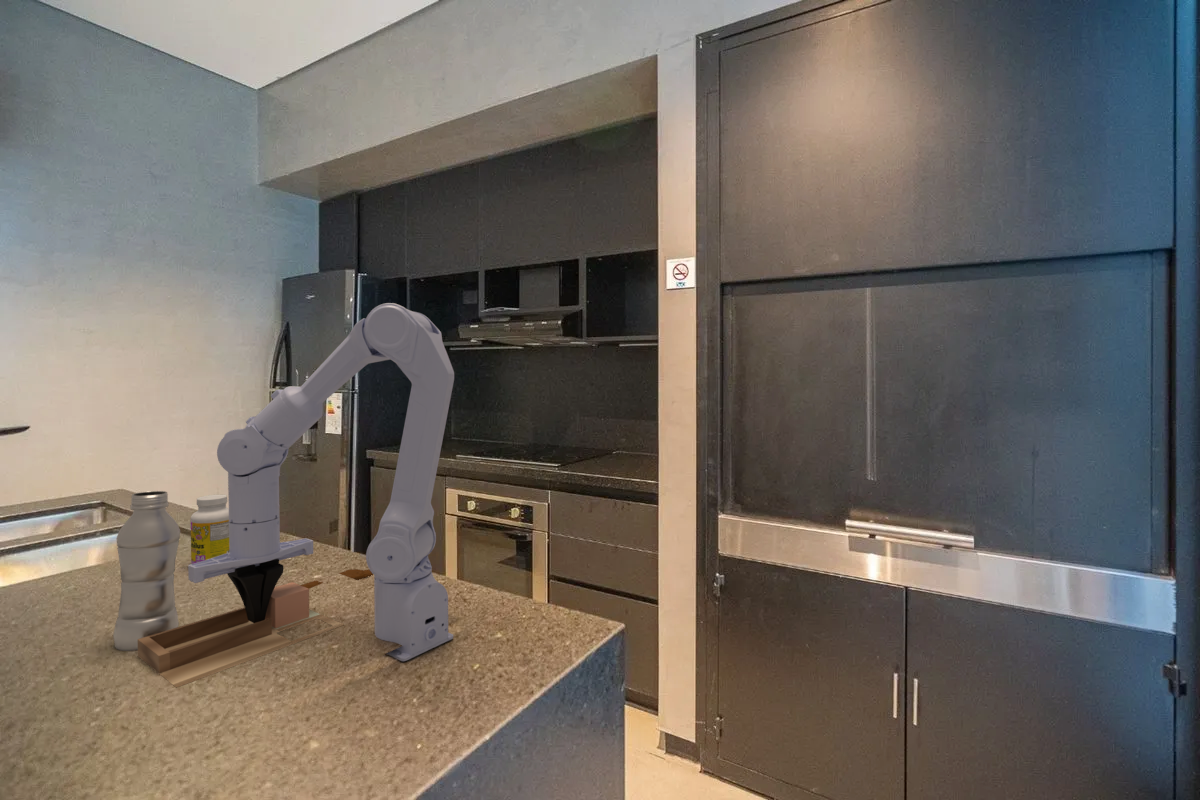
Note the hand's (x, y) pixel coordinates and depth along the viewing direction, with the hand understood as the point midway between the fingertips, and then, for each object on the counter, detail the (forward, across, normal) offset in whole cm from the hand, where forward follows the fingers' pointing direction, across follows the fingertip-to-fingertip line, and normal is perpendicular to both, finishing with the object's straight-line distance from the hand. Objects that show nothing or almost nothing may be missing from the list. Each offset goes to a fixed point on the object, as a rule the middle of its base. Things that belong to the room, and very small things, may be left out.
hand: (256, 620), depth 74 cm
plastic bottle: (+3, +10, -8) cm, 13 cm away
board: (+3, +2, +2) cm, 4 cm away
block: (+1, -4, 0) cm, 4 cm away
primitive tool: (+3, -15, -11) cm, 19 cm away
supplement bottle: (+3, -9, -39) cm, 40 cm away
